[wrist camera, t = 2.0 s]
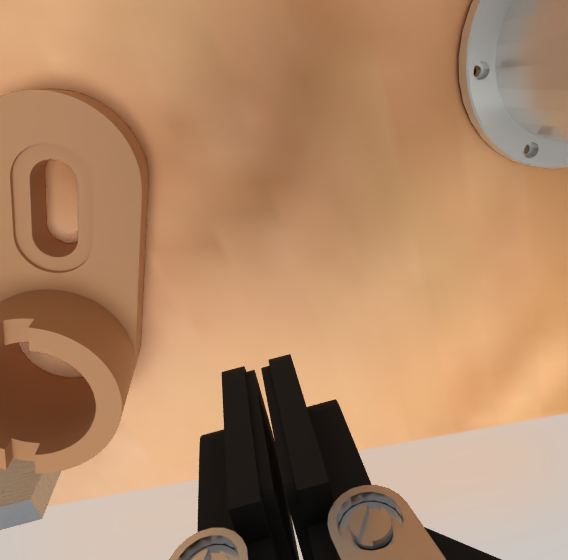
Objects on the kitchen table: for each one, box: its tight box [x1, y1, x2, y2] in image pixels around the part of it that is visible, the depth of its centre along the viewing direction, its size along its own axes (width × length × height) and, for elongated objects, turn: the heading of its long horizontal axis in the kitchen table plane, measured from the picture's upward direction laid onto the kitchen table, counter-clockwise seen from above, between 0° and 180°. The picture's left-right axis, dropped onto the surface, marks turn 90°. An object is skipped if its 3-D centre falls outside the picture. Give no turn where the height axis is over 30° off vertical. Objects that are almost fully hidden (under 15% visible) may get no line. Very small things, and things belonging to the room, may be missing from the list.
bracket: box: [0, 89, 148, 473], centre depth 24 cm, size 18×8×7 cm, turn 171°
